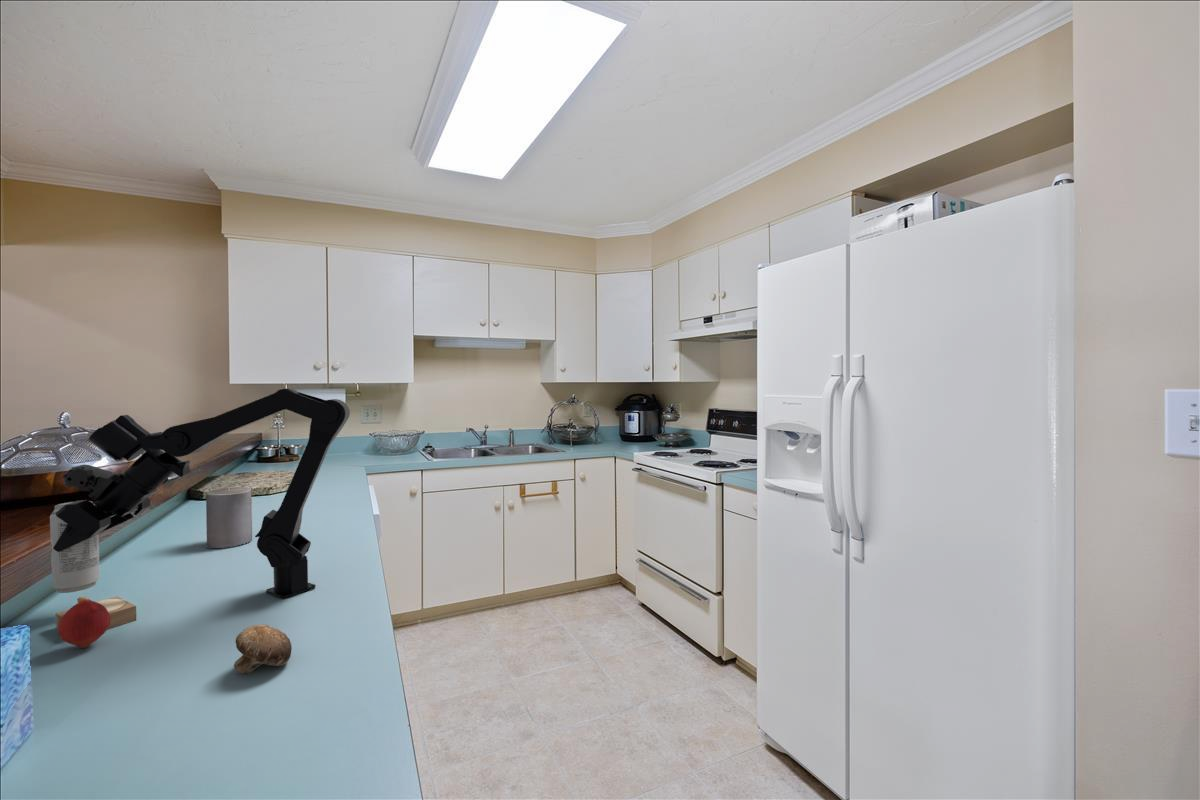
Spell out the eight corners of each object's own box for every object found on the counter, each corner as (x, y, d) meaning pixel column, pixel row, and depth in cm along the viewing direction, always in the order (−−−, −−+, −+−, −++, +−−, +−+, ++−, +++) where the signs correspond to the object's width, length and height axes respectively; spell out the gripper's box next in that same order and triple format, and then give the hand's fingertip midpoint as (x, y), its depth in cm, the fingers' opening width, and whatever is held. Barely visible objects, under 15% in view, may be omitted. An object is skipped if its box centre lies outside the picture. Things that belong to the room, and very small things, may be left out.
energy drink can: (96, 578, 98) (94, 498, 98) (102, 586, 95) (100, 503, 94) (50, 588, 94) (47, 504, 93) (54, 597, 90) (51, 509, 89)
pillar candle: (211, 540, 139) (210, 484, 138) (255, 536, 143) (254, 481, 142) (202, 551, 130) (200, 490, 129) (249, 546, 134) (248, 487, 133)
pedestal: (136, 620, 92) (136, 604, 92) (73, 639, 85) (73, 622, 85) (117, 610, 96) (117, 594, 96) (56, 627, 89) (55, 611, 89)
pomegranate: (107, 634, 86) (106, 586, 86) (114, 645, 83) (112, 595, 83) (56, 648, 82) (54, 597, 82) (61, 660, 78) (59, 607, 78)
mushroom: (208, 663, 71) (241, 618, 74) (231, 658, 79) (260, 617, 81) (262, 689, 72) (293, 643, 75) (280, 682, 79) (307, 640, 82)
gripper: (128, 443, 104) (59, 504, 100) (68, 455, 86) (-18, 529, 83) (178, 480, 106) (112, 540, 103) (130, 499, 89) (49, 573, 86)
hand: (67, 544), depth 94 cm, fingers closed on energy drink can, 6 cm apart
